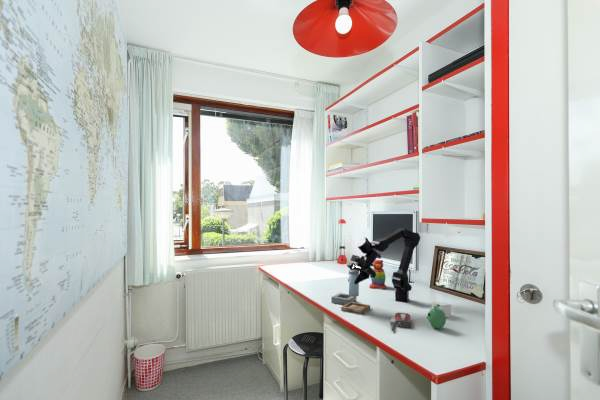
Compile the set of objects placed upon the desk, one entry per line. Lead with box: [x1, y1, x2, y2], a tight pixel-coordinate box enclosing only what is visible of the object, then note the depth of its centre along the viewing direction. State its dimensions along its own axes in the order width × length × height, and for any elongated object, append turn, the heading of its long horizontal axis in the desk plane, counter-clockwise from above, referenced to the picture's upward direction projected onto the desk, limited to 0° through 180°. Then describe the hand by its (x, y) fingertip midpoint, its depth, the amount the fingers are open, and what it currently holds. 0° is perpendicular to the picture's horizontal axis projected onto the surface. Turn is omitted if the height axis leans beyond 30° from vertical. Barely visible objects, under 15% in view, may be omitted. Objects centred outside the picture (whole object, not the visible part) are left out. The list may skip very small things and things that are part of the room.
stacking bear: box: [369, 259, 387, 290], centre depth 211 cm, size 11×10×18 cm
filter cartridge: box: [348, 269, 360, 297], centre depth 165 cm, size 5×5×12 cm
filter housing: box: [331, 292, 357, 306], centre depth 177 cm, size 10×10×3 cm
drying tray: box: [340, 302, 371, 315], centre depth 163 cm, size 11×11×2 cm
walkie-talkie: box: [389, 312, 412, 332], centre depth 142 cm, size 9×4×20 cm
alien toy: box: [426, 304, 447, 330], centre depth 139 cm, size 7×8×10 cm
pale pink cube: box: [431, 300, 452, 318], centre depth 155 cm, size 6×6×6 cm
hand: (351, 282), depth 165 cm, fingers closed on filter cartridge, 5 cm apart
